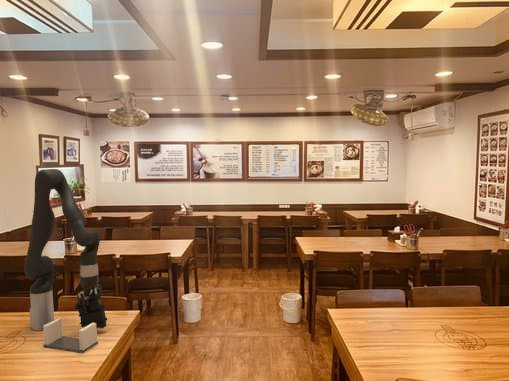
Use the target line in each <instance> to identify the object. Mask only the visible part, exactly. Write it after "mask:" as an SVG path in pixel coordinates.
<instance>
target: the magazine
mask: <svg viewBox="0 0 509 381" xmlns="http://www.w3.org/2000/svg"><path fill="white" fill-rule="evenodd" d="M86 302H87V300H86ZM74 305H75V307H74V309H75V310H77V311H78V317H79V318H80V322H79V325H80V327H81V328H84V327H86V326H88V325H89V324H91V323H96V329H104V328H105V327H107V321H108V317H106V311H105V309H106V306H105V305H104V304H103V302H102V299H101V296H100V295H98V293H97V294H96V295H93V296H91V299H90V301H89V309H90V312H89V313H85V312H84V305H80V303H79V301H78V302H77V303H75V304H74Z"/></svg>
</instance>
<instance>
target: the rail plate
mask: <svg viewBox="0 0 509 381" xmlns="http://www.w3.org/2000/svg"><path fill="white" fill-rule="evenodd" d="M98 344H99V341H98V340H97V342H95V343H94V344H92V345H91V346H89V347H88V348H86V349H85V350H80V343H79V337H71V336H65V335H62V337H61V338H59V339H57V340H56V341H54V342H52V343H50V344H48V345H45V344H44V343H43V345H42V346H43V348H46V349H53V350H58V351H59V350H60V351H67V352H73V353H79V354H84V353H85V352H87V351H88V350H90V349H92V348H93V347H95V346H96V345H98Z"/></svg>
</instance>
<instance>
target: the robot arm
mask: <svg viewBox="0 0 509 381" xmlns="http://www.w3.org/2000/svg"><path fill="white" fill-rule="evenodd" d="M52 190H55V192H56V193H57V194H58V196H59V197H60V202H61V210H62V214H63V216H64V218H65V220H66V221H67V223H68V224H69V226H70V228H71V233H72V236H73V239H74V241H75V243H76V244H77V245H78V246H80V247H82V248H84V250H82V251H81V252H80V255H79V256H80V257H79V260H80V261H79V262H80V263H79V275H80V276H79V280H80V286H81V287H82V289H81V291H80V292H78V293H77V294H76V296H77V299H78V302H79V303H80V305H84V312H85V313H89V312H90V309H89V301H90V299H91V296H93V295H96V294H97V293H98V295H100V296H101V295H102V289H103V285H102V284H99V281H100V280H99V266H98V252H99V248H100V241H101V237H100V233H99V231H98V230H97V229H95V228H89V229H86V227H85V225H86V224H87V222H88V220H87V218H86V216H85V215H84V213H83V211H82V210H81V208H80V207H79V206H78V204H77V201H76V199H75V198H74V195H73V192H72V190H71V188H70V186H69V183H68V180H67V178H66V175H65V174H64V172H62V171H61V170H60V169H59V168H58V169H57V168H49V169H48V168H47V169H40V170H39V171H37V172H36V174H35V177H34V201H33V202H34V203H33V210H32V211H33V212H32V219H31V227H30V236H29V241H28V247H27V248H28V249H27V253H26V256H25V260H24V266H23V272H24V274H25V276H26V278H27V279H29V280H35V281H34V283H32V284H31V285H30V286H29V297H30V308H29V309H28V310H29V324H30V326H29V327H30V329H31V330H33V331H38V332H39V331H43V326H44V325H46V324H48V323H50V322H52V321H54V320H55V311H54V296H53V285H54V278H55V277H54V272H55V271H54V262H53V261H52V259H51V257H49V256H47V255H42V254H43V251H44V249H45V247H46V246H47V244H48V242H49V241H50V239H51V237H52V236H53V233H54V231H55V224H56V215H55V212H54V210H53V208H52V206H51V204H50V198H51V197H50V195H51V192H52ZM86 300H87V302H86Z"/></svg>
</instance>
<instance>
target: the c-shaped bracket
mask: <svg viewBox="0 0 509 381" xmlns="http://www.w3.org/2000/svg"><path fill="white" fill-rule="evenodd" d="M62 320H63V319H62V318H56V319H54V321H52V322H50V323H48V324H46V325H44V326H43V330H42V331H43V345H44V344H45V345H48V344H50V343H52V342H54V341H56V340H57V339H59V338H61V337H62V336H63V326H62V325H63V323H62V322H63V321H62ZM97 336H98V334H97V328H96V323H91V324H89V325H88V326H86V327H81V329H79V330H78V338H79V343H80V350H85V349H86V348H88V347H89V346H91V345H92V344H94V343H95V342H97V341H98V337H97Z"/></svg>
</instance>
